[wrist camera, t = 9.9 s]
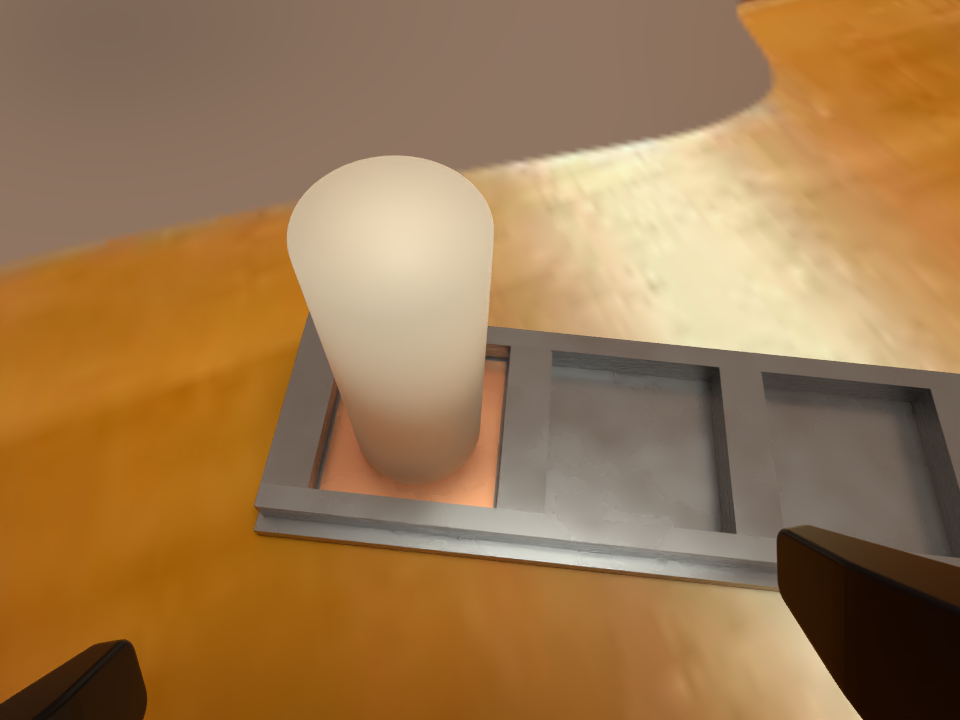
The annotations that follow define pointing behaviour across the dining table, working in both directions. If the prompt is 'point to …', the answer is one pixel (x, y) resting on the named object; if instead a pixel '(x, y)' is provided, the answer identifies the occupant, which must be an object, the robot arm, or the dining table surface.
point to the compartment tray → (637, 461)
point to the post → (400, 306)
